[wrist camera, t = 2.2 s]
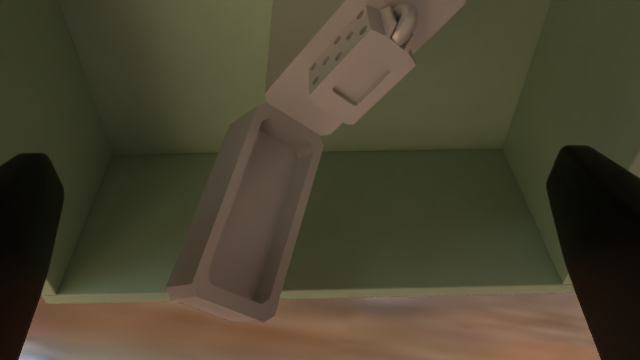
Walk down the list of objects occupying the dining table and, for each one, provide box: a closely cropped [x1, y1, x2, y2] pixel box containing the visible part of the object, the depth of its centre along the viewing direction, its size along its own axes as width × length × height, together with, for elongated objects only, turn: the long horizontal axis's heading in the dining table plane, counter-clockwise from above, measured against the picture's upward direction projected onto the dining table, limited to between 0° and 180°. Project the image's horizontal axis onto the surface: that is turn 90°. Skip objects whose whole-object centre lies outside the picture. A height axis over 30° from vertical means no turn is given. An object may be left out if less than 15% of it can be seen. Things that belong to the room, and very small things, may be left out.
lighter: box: [166, 0, 466, 322], centre depth 11 cm, size 7×2×8 cm, turn 141°
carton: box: [0, 0, 640, 304], centre depth 11 cm, size 14×13×6 cm
